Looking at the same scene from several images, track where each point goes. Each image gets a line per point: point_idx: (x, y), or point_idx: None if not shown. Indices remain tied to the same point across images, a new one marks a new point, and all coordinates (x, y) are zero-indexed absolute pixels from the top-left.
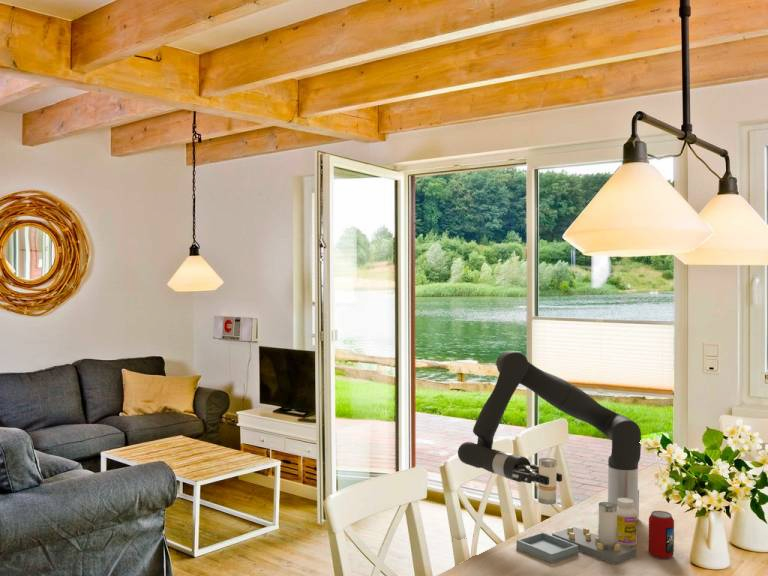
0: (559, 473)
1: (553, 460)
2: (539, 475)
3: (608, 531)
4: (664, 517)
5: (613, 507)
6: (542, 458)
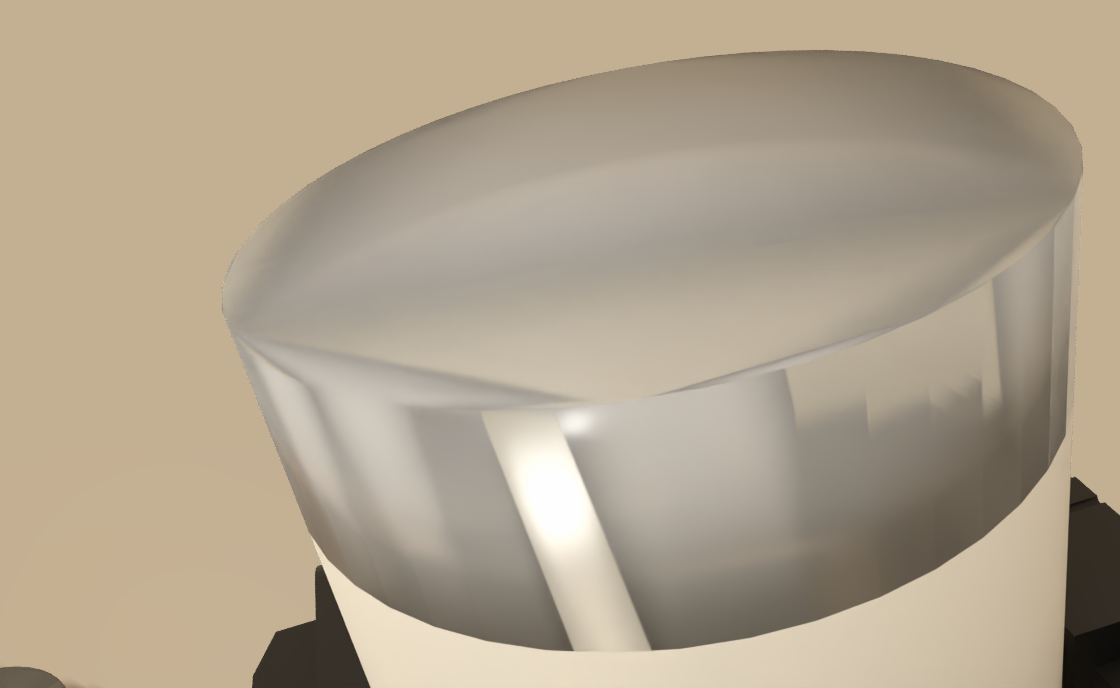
0: (327, 601)
1: (422, 173)
2: (1092, 558)
3: None
4: None
5: (4, 668)
6: (709, 349)
